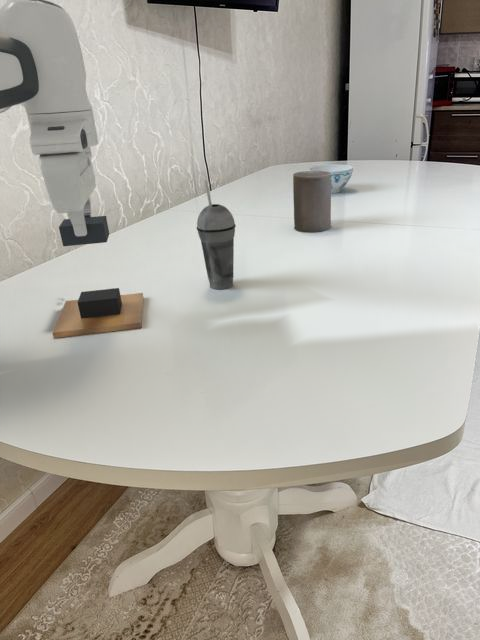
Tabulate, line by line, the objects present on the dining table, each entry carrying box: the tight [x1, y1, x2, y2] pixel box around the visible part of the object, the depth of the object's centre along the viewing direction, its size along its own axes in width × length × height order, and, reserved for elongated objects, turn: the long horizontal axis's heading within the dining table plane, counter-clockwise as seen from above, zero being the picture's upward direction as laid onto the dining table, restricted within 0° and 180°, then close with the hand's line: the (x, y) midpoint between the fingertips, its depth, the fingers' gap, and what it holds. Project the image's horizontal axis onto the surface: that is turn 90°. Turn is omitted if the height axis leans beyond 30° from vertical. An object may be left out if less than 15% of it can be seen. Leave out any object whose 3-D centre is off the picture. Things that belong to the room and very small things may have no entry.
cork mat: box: [52, 292, 145, 339], centre depth 91 cm, size 14×14×1 cm
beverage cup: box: [196, 179, 237, 291], centre depth 98 cm, size 7×7×20 cm
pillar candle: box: [292, 168, 332, 233], centre depth 134 cm, size 10×10×15 cm
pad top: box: [58, 215, 110, 247], centre depth 81 cm, size 6×5×3 cm
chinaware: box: [307, 164, 354, 194], centre depth 177 cm, size 15×15×8 cm
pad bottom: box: [77, 287, 122, 319], centre depth 91 cm, size 6×5×3 cm
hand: (84, 229), depth 81 cm, fingers closed on pad top, 5 cm apart
